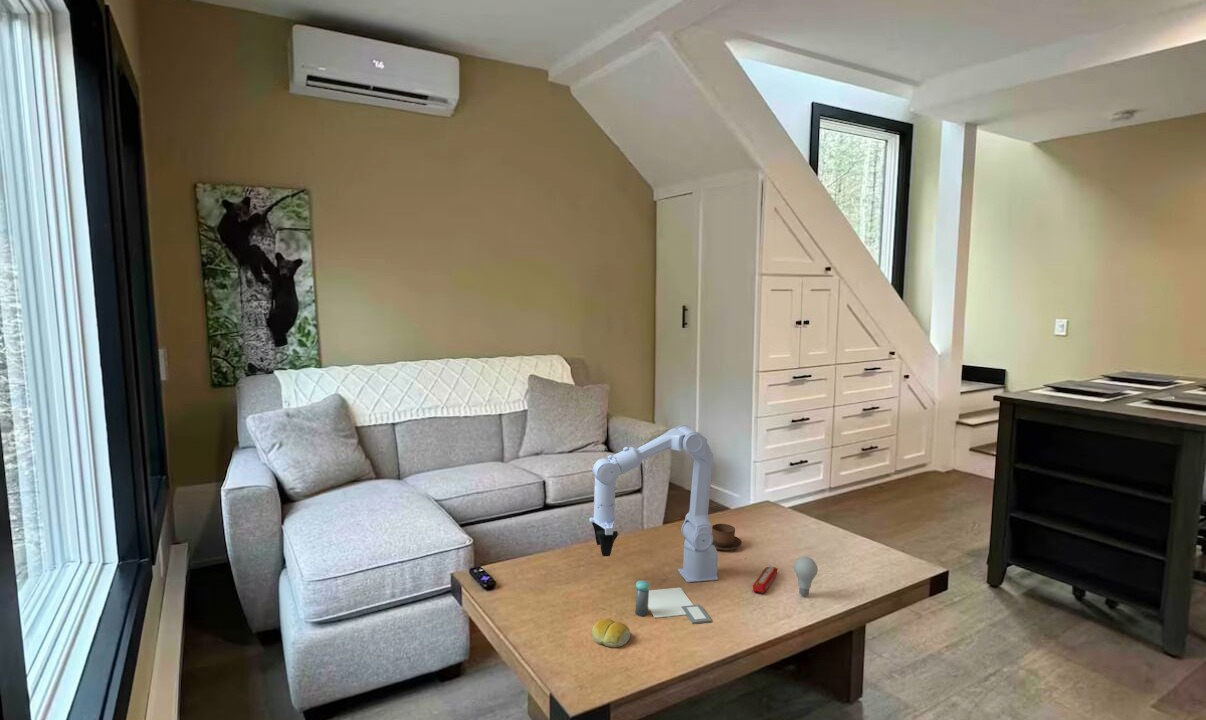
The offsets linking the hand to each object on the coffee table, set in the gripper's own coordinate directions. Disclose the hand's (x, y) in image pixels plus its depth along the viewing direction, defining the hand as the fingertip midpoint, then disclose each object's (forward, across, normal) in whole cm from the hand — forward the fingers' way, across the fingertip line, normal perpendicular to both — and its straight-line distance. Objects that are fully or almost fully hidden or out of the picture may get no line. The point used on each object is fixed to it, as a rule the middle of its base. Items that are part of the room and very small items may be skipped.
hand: (603, 550), depth 177 cm
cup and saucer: (+10, -21, +44) cm, 50 cm away
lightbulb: (+10, +15, +53) cm, 56 cm away
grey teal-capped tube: (+10, +17, +7) cm, 21 cm away
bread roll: (+10, +27, -3) cm, 29 cm away
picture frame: (+10, +20, +20) cm, 30 cm away
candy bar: (+11, +6, +46) cm, 48 cm away
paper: (+10, +13, +15) cm, 22 cm away
